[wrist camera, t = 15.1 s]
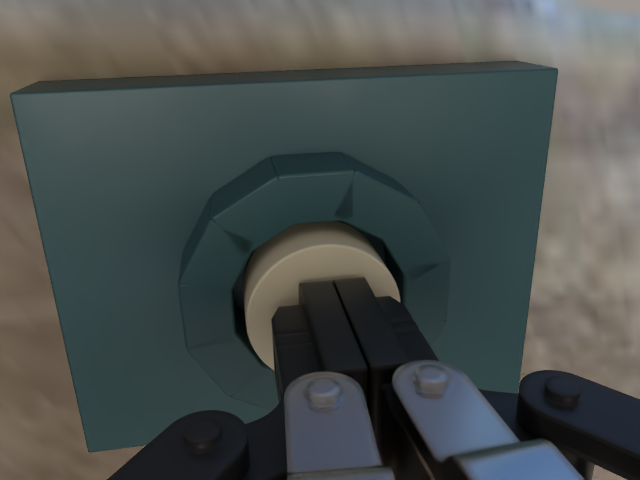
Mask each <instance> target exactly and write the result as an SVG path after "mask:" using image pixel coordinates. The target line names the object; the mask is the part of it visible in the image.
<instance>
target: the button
mask: <svg viewBox="0 0 640 480" xmlns="http://www.w3.org/2000/svg"><path fill="white" fill-rule="evenodd" d="M360 277H365V279H366V280H367V282H368V284H369V286H370V288H371V289H372V291H373V293H374V295H375V297H382V296H391V297H392V298H394V299H395V300H397V301H398V302H400V295H399V290H398V288H397V285H396V282H395V280H394V278H393V276H392V275H391V273H390V272H389V270H388V268H387V267H386V265H385V264H384V262H383V261H382V259H381V258H380V256H379V255H378V253H377V252H376V250H375V249H374V247H373V246H372V245H371V243H370V242H369V241H368V240H367V239H366V238H365V237H364V236H363V235H362V234H361V233H360V232H358V231H357V230H356V229H354V228H352V227H350V226H349V225H346V224H344V223H341V222H338V221H331V222H319V223H307V224H294V225H293V226H291V227H290V228H288V229H286V230H285V231H283V232H282V233H280V234H279V235H277V236H276V237H274V238H272V239H271V240H269V241H268V242H266V243H265V244H263V245H262V246H260V247H258V248H257V249H256V250H255V251H254V253H253V255H252V256H251V258H250V260H249V262H248V264H247V266H246V270H245V273H244V279H243V298H244V309H245V319H246V327H247V334H248V337H249V340H250V343H251V345H252V347H253V349H254V350H255V352H256V353H257V355H258V356H259V358H260V359H261V360H262V361H263V362H264V363H265V364H266V365H268V366H269V367H270V368H271V369H273V370H274V355H273V339H272V323H271V319H272V317H273V316H274V314H275V312H276V310H277V309H278V307H281V306H291V305H299V290H298V289H299V283H308V282H318V281H329V280H331V281H333V280H339V279H349V278H360Z"/></svg>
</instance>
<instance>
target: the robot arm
mask: <svg viewBox="0 0 640 480" xmlns="http://www.w3.org/2000/svg"><path fill="white" fill-rule="evenodd" d="M298 290H299V305H291V306H281V307H278V309H277V310H276V312H275V314H274V316H273V317H272V319H271V323H272V339H273V355H274V371H275V381H276V387H277V393H278V400H279V404H278V405H277V406H276V407H275V408H274V409H273V410H272V411H271V412H270V413H268V414H267V415H265V416H264V417H262V418H260V419H257V420H255V421H253V422H250V423H247V424H244V422H243V421H242V420H241V419H240V418H239V417H237V416H236V415H234V414H231V413H229V412H225V411H219V410H205V411H199V412H194V413H191V414H188V415H186V416H183V417H181V418H180V419H178V420H176V421H175V422H173V423H172V424H171V425H169V426H168V427H167V428H166V429H165V430H164V431H163V432H161V433H160V434H159V435H158V436H157V437H156V438H154V439H153V440H152V441H151V442H150V443H149V444H148V445H146V446H145V447H144V448H143V449H142V450H141V451H139V452H138V453H137V454H136V455H135V456H134V457H133V458H131V459H130V460H129V461H128V462H127V463H126V464H124V465H123V466H122V467H121V468H120V469H119V470H118V471H116V472H115V473H114V474H113V475H112V476H111V477H110V478H108V479H107V480H592V475H593V470H594V465H598V466H600V467H602V468H604V469H606V470H608V471H610V472H612V473H615V474H617V475H619V476H621V477H623V478H625V479H627V480H640V399H637V398H634V397H632V396H629V395H627V394H624V393H621V392H619V391H616V390H613V389H611V388H608V387H606V386H603V385H600V384H598V383H595V382H592V381H590V380H587V379H585V378H582V377H579V376H577V375H574V374H571V373H567V372H562V371H554V370H542V371H536V372H533V373H530V374H528V375H526V376H525V377H524V378H523V379H522V380H521V382H520V385H519V393H518V394H517V393H507V392H496V391H487V390H481V389H477V387H476V386H475V385H474V384H473V382H472V381H471V380H470V379H469V377H468V376H467V375H466V374H465V373H464V372H463V371H461V370H460V369H459V368H457V367H455V366H453V365H451V364H448V363H445V362H441V361H439V359H438V358H437V356H436V355H435V353H434V351H433V350H432V348H431V347H430V345H429V343H428V342H427V340H426V339H425V337H424V335H423V334H422V332H421V331H419V327H418V326H417V324H416V323H415V321H413V318H412V316H411V315H410V313H409V311H408V310H407V308H406V307H405V305H403V304H402V303H400V302H398V301H397V300H395V299H394V298H392V297H391V296H382V297H375V295H374V293H373V291H372V289H371V288H370V286H369V284H368V282H367V280H366V279H365V277H360V278H349V279H339V280H333V281H331V280H329V281H318V282H308V283H299V289H298Z"/></svg>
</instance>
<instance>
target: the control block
mask: <svg viewBox="0 0 640 480" xmlns="http://www.w3.org/2000/svg"><path fill="white" fill-rule="evenodd" d="M557 75H558V69H557V68H553V67H547V66H542V65H536V64H531V63H525V62H520V61H503V62H480V63H457V64H433V65H410V66H387V67H364V68H340V69H317V70H294V71H271V72H247V73H224V74H201V75H178V76H154V77H131V78H108V79H85V80H61V81H38V82H36V83H34V84H31V85H29V86H27V87H24V88H22V89H20V90H17V91H15V92H13V93H11V94H10V98H11V103H12V107H13V112H14V116H15V121H16V125H17V130H18V134H19V139H20V144H21V148H22V153H23V157H24V162H25V166H26V171H27V175H28V180H29V184H30V189H31V194H32V198H33V203H34V207H35V212H36V216H37V221H38V225H39V230H40V234H41V239H42V244H43V248H44V253H45V257H46V262H47V266H48V271H49V275H50V280H51V284H52V289H53V294H54V298H55V303H56V307H57V312H58V316H59V321H60V325H61V330H62V334H63V339H64V344H65V348H66V353H67V357H68V362H69V366H70V371H71V375H72V380H73V384H74V389H75V394H76V398H77V403H78V407H79V412H80V416H81V421H82V425H83V430H84V434H85V439H86V444H87V448H88V452H98V451H105V450H113V449H121V448H128V447H136V446H144V445H148V444H149V443H150V442H151V441H152V440H153V439H154V438H156V437H157V436H158V435H159V434H160V433H161V432H163V431H164V430H165V429H166V428H167V427H168V426H169V425H171V424H172V423H173V422H175V421H176V420H178V419H180V418H181V417H183V416H186V415H188V414H191V413H194V412H199V411H205V410H219V411H225V412H229V413H231V414H234V415H236V416H237V417H239V418H240V419H241V420H242V421H243V422H244V424H247V423H250V422H253V421H255V420H257V419H260V418H262V417H264V416H265V415H267V414H268V413H270V412H271V411H272V410H273V409H274V408H275V407H276V406H277V405H278V404H279V400H278V393H277V387H276V381H275V371H274V370H273V369H271V368H270V367H269V366H268V365H266V364H265V363H264V362H263V361H262V360H261V359H260V358H259V356H258V355H257V353H256V352H255V350H254V349H253V347H252V345H251V343H250V340H249V337H248V334H247V327H246V319H245V309H244V298H243V279H244V273H245V270H246V266H247V264H248V262H249V260H250V258H251V256H252V255H253V253H254V251H255V250H256V249H257V248H258V247H260V246H262V245H263V244H265V243H266V242H268V241H269V240H271V239H272V238H274V237H276V236H277V235H279V234H280V233H282V232H283V231H285V230H286V229H288V228H290V227H291V226H293V225H294V224H307V223H319V222H331V221H338V222H341V223H344V224H346V225H349V226H350V227H352V228H354V229H356V230H357V231H358V232H360V233H361V234H362V235H363V236H364V237H365V238H366V239H367V240H368V241H369V242H370V243H371V245H372V246H373V247H374V249H375V250H376V252H377V253H378V255H379V256H380V258H381V259H382V261H383V262H384V264H385V265H386V267H387V268H388V270H389V272H390V273H391V275H392V276H393V278H394V280H395V282H396V285H397V288H398V290H399V295H400V303H402V304H403V305H405V307H406V308H407V310H408V311H409V313H410V315H411V316H412V318H413V321H415V323H416V324H417V326H418V327H419V331H421V332H422V334H423V335H424V337H425V339H426V340H427V342H428V343H429V345H430V347H431V348H432V350H433V351H434V353H435V355H436V356H437V358H438V359H439V361H441V362H445V363H448V364H451V365H453V366H455V367H457V368H459V369H460V370H461V371H463V372H464V373H465V374H466V375H467V376H468V377H469V379H470V380H471V381H472V382H473V384H474V385H475V386H476V387H477V389H481V390H487V391H496V392H507V393H517V394H518V389H519V381H520V372H521V364H522V356H523V348H524V340H525V332H526V324H527V316H528V308H529V300H530V292H531V284H532V276H533V268H534V260H535V252H536V244H537V236H538V228H539V220H540V212H541V204H542V196H543V188H544V180H545V172H546V164H547V156H548V148H549V140H550V132H551V124H552V116H553V108H554V99H555V91H556V83H557Z"/></svg>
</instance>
